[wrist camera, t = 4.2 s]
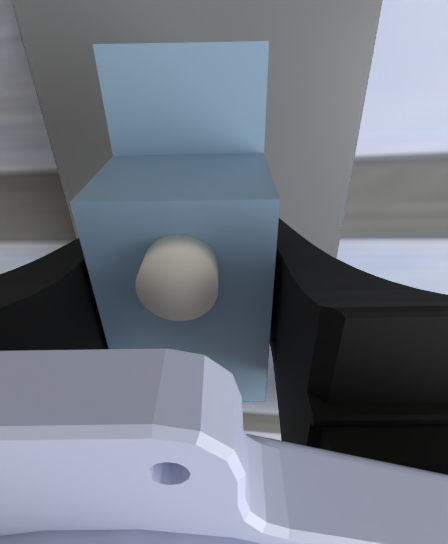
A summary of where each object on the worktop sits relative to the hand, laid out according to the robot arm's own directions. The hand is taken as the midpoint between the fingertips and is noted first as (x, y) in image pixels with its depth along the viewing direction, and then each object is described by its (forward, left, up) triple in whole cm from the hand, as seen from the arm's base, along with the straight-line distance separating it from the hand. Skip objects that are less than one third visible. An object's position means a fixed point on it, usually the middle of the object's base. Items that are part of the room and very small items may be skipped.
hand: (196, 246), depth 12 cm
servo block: (0, 0, -3) cm, 3 cm away
